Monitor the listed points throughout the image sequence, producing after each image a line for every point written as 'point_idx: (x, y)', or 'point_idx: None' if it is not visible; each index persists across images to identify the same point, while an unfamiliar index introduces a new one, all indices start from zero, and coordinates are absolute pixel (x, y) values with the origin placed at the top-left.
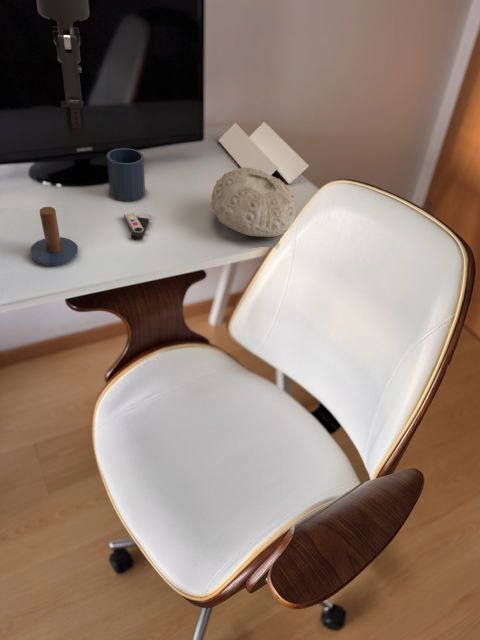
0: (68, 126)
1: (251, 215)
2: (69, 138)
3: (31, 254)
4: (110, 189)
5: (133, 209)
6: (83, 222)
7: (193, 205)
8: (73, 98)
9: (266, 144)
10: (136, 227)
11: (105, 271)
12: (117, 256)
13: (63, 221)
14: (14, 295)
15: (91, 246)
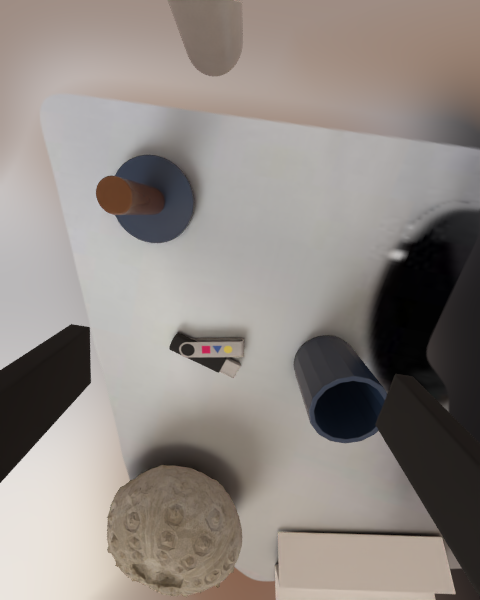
0: (3, 370)
1: (109, 520)
2: (51, 337)
3: (142, 155)
4: (327, 341)
5: (268, 357)
6: (248, 270)
7: (254, 440)
8: (420, 449)
9: (384, 591)
10: (194, 348)
11: (95, 271)
12: (134, 299)
13: (261, 236)
14: (43, 107)
15: (170, 266)
